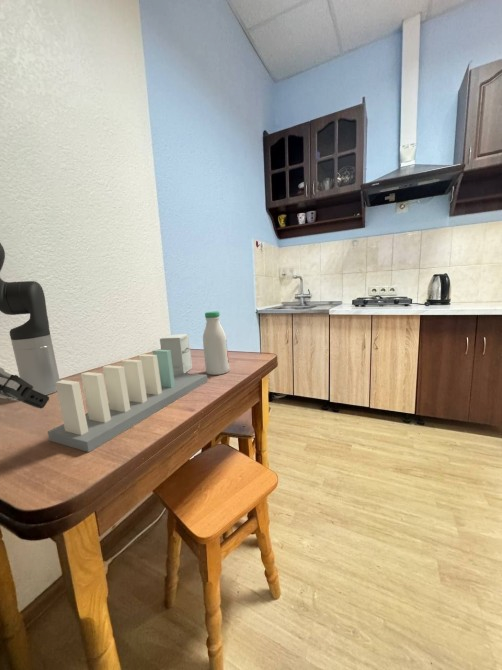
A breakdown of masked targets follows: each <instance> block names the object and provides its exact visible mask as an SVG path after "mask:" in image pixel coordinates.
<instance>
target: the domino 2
mask: <svg viewBox="0 0 502 670" xmlns="http://www.w3.org/2000/svg"><path fill="white" fill-rule="evenodd" d="M80 377H81V382H82V384H81V385H82V388H83V395H84V399H85V403H86V404H85V405H86V409H87V413H88V416H89V419H90V420H95V421H99V422H104V423H106V422H107V421H109V420H111V416H110V410H109V405H108V403H109V402H108V396H107V390H106V384H105V379H104V373H101V372H100V373H99V372H88V371H86V372H83V373H81V374H80Z"/></svg>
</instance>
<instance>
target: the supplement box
mask: <svg viewBox="0 0 502 670" xmlns="http://www.w3.org/2000/svg"><path fill="white" fill-rule="evenodd" d="M159 344H160V350H170V351H171V358H172V366H173V373H175V372H178V373H188V372H190V370H192V369H193V363H192V355H191V346H190V335H189V334H188V333H184V334H183V333H181V334H180V333H179V334H177V333H176V334H169V335H167V336H164V337H161V338H159Z"/></svg>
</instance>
